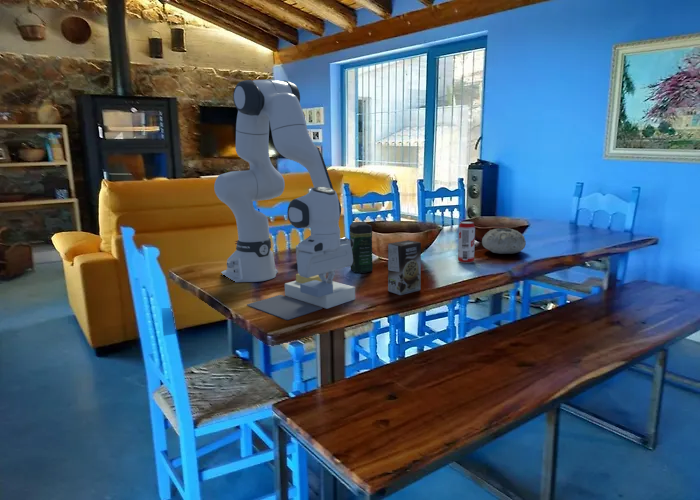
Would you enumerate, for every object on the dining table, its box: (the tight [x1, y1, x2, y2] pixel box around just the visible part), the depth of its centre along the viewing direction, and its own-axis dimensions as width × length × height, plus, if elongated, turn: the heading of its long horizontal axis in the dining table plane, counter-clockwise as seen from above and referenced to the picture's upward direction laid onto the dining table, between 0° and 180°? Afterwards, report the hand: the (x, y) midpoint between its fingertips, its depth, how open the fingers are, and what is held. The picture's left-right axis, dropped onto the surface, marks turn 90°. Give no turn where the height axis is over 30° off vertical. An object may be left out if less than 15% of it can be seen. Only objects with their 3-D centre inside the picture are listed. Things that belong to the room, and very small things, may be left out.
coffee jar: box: [349, 221, 374, 274], centre depth 192 cm, size 10×8×19 cm
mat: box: [246, 294, 323, 321], centre depth 154 cm, size 20×13×1 cm, turn 45°
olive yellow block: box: [295, 273, 327, 283], centre depth 166 cm, size 8×6×2 cm
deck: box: [284, 280, 356, 309], centre depth 162 cm, size 20×12×4 cm, turn 45°
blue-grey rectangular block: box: [300, 280, 333, 297], centre depth 154 cm, size 8×6×2 cm
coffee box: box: [387, 239, 422, 296], centre depth 166 cm, size 9×6×16 cm
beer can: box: [457, 220, 476, 264], centre depth 201 cm, size 6×6×16 cm
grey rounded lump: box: [481, 227, 527, 255], centre depth 216 cm, size 18×18×10 cm
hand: (327, 285), depth 157 cm, fingers closed
